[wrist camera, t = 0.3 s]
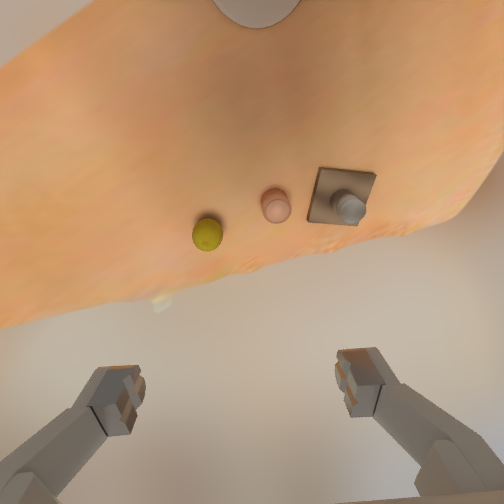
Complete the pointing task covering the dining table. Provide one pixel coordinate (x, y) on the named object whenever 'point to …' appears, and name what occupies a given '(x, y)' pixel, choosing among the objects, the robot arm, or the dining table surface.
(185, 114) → the dining table surface
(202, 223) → the lemon
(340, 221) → the stud base
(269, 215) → the cap
